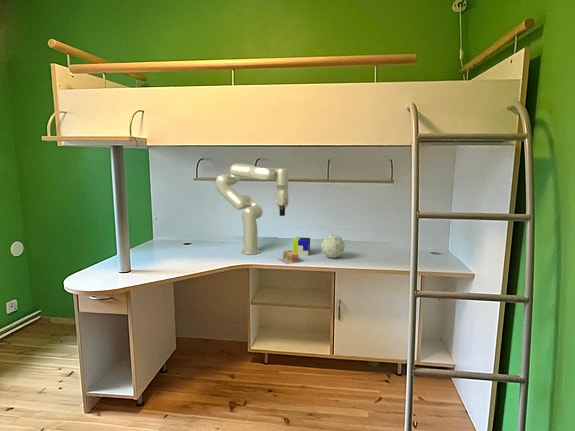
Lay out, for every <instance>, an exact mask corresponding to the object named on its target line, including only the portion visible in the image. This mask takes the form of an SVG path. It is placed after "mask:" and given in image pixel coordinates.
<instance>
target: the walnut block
mask: <svg viewBox="0 0 575 431" xmlns="http://www.w3.org/2000/svg"><path fill="white" fill-rule="evenodd" d="M282 259H286V260H287V261H289V262H291V263H290V264H293V263H292V262H297V263H299V262H298V259H299V255H298V253H296V252H294V251H293V250H292V249H288V250H287V249H286V250H285V249H284V250H283V251H282Z"/></svg>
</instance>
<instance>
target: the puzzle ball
mask: <svg viewBox="0 0 575 431" xmlns="http://www.w3.org/2000/svg"><path fill="white" fill-rule="evenodd" d="M320 246H321V251H322V253H323V254H324V255H325V256H326V257H328V258H331V259H335V258H338V257H339V256H341V255H342V254H343V253H344V251H345V242H344V240H343V239H342V237H341V236H339V235H338V234H329V235H326V236H325V237H324V238H323V239H322V240H321V244H320Z"/></svg>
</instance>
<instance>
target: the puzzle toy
mask: <svg viewBox="0 0 575 431" xmlns="http://www.w3.org/2000/svg"><path fill="white" fill-rule="evenodd" d="M292 251H294V252H296V253H298V256H308V257H309V254H310V252H311V238H310V237H301V236H296V237H295V238H294V239H293V240H292Z"/></svg>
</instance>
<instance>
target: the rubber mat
mask: <svg viewBox="0 0 575 431" xmlns="http://www.w3.org/2000/svg"><path fill="white" fill-rule="evenodd" d="M278 260H279V261H280V262H282V263H284V264H286V265H289V264H295V263H303V262H305V260H302V259H301V258H298V262H292V263H291V262H289V261H287V260H286V259H284V258H279V259H278Z"/></svg>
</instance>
